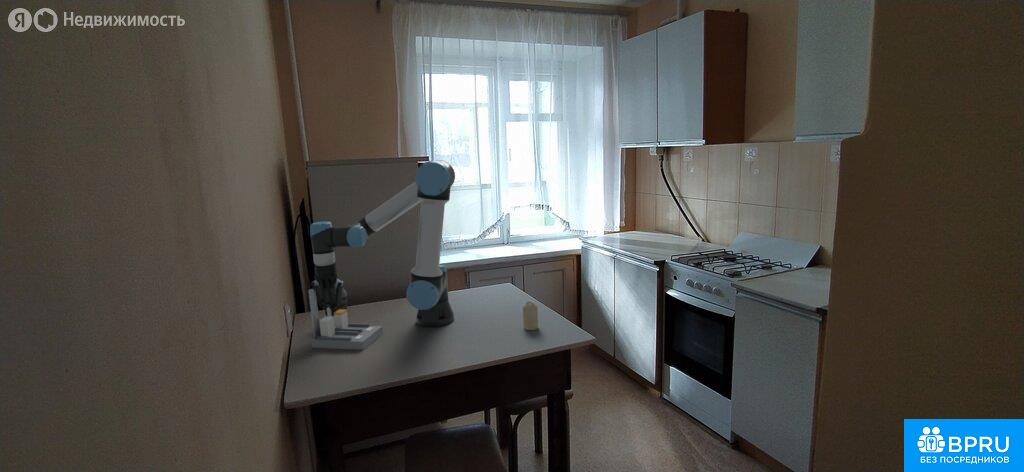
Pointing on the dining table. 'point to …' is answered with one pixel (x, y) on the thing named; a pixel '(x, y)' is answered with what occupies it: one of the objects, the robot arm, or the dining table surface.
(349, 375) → the dining table surface
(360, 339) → the panel
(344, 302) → the beverage cup
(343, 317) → the grey orange block
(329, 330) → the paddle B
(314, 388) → the dining table surface
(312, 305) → the post
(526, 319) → the candle
